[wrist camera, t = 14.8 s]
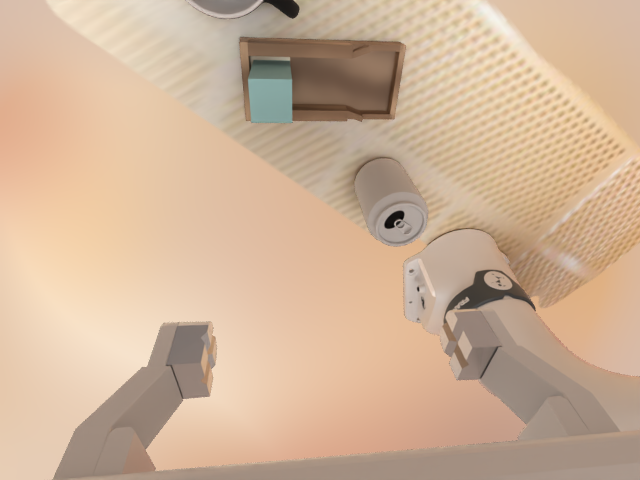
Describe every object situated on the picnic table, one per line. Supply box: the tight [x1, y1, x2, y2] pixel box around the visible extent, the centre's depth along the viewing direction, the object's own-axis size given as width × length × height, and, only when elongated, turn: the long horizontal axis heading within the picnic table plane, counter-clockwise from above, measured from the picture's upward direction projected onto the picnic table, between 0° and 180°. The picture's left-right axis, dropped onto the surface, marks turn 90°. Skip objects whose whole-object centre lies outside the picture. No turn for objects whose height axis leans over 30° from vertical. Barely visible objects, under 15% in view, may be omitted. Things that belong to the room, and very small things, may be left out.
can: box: [354, 158, 428, 246], centre depth 46 cm, size 8×8×12 cm
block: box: [248, 60, 292, 123], centre depth 37 cm, size 4×4×9 cm
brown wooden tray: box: [239, 37, 406, 122], centre depth 41 cm, size 8×18×4 cm, turn 88°
